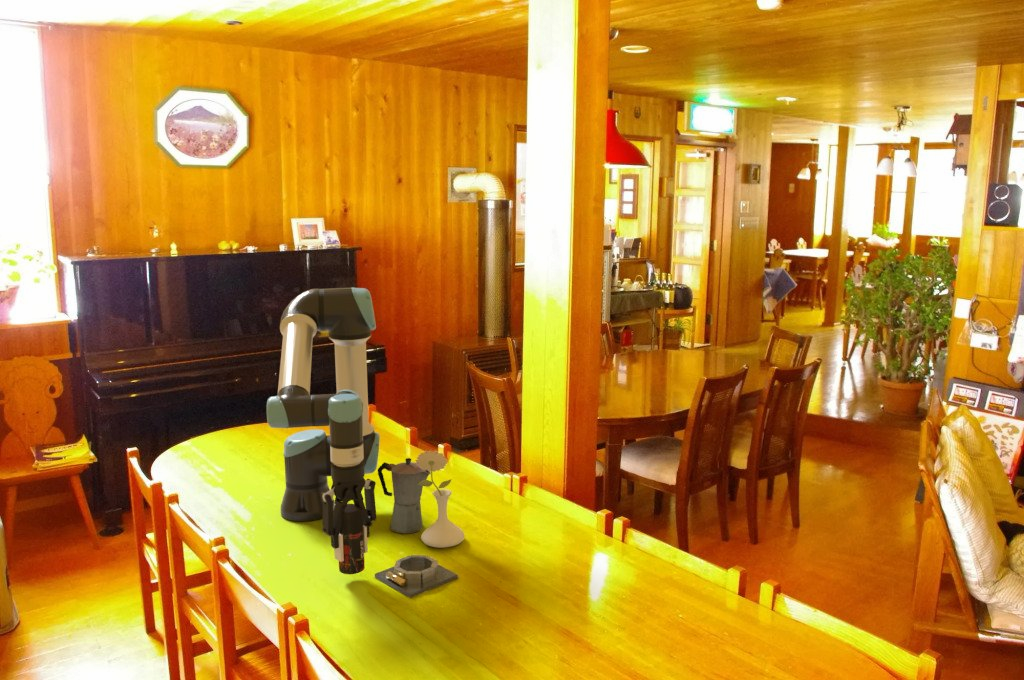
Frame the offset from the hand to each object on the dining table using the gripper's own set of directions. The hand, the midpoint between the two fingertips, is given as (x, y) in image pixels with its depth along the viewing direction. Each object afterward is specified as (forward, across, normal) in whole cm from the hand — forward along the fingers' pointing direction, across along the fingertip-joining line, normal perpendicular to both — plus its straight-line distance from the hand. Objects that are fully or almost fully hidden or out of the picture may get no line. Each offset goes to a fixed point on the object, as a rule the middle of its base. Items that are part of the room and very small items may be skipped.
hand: (351, 555), depth 195 cm
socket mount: (+6, +12, -10) cm, 16 cm away
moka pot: (+7, +28, +16) cm, 33 cm away
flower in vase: (+7, +29, +2) cm, 30 cm away
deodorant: (+4, 0, 0) cm, 4 cm away
